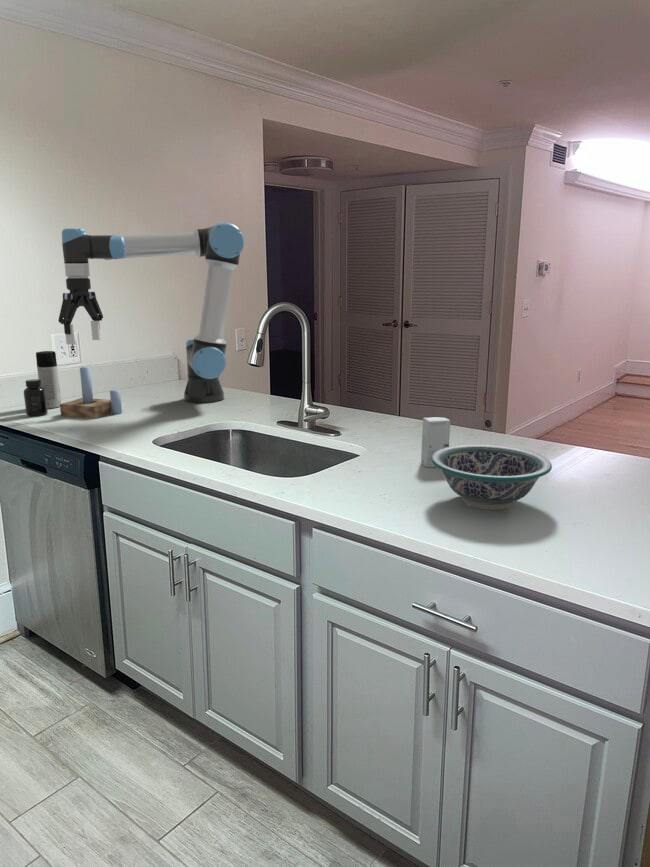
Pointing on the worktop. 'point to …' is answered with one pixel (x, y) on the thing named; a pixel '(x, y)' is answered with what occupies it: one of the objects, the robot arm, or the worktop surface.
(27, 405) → the supplement bottle
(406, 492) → the worktop surface
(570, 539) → the worktop surface
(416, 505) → the worktop surface
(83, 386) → the long dowel
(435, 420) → the skincare box
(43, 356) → the spray can
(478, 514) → the worktop surface
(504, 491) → the bowl
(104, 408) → the collar block
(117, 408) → the short dowel
